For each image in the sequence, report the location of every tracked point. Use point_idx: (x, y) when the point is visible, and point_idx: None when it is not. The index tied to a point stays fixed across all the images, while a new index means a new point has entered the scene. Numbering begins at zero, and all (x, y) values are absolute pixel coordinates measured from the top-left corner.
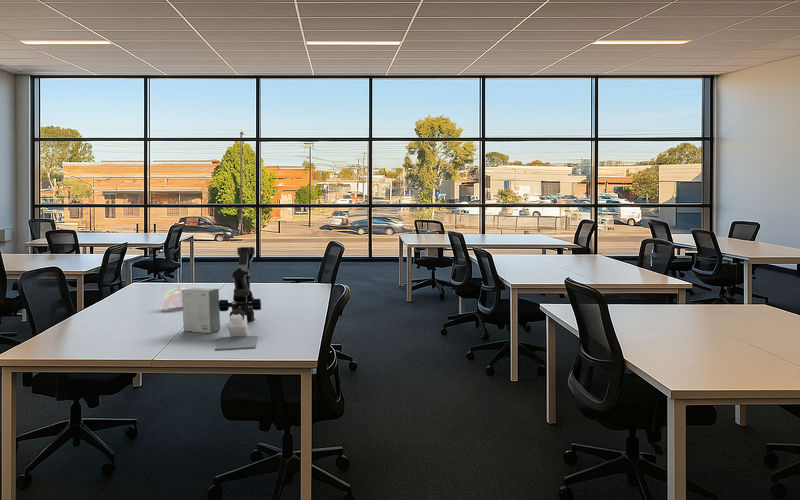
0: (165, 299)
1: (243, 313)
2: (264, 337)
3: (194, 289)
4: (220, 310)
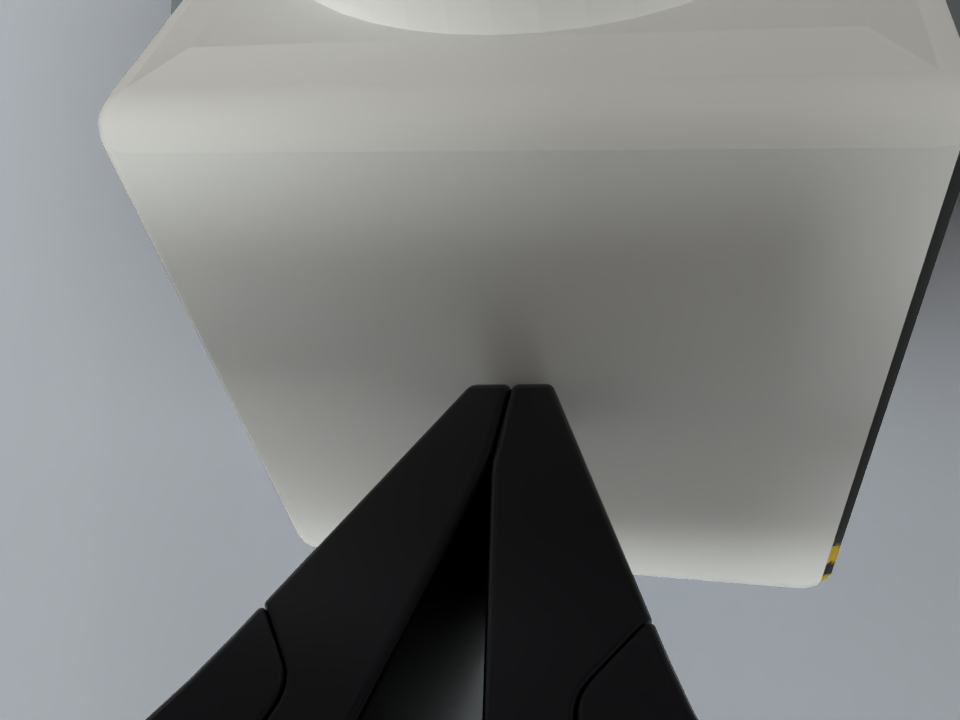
0: None
1: None
2: (47, 163)
3: None
4: None
